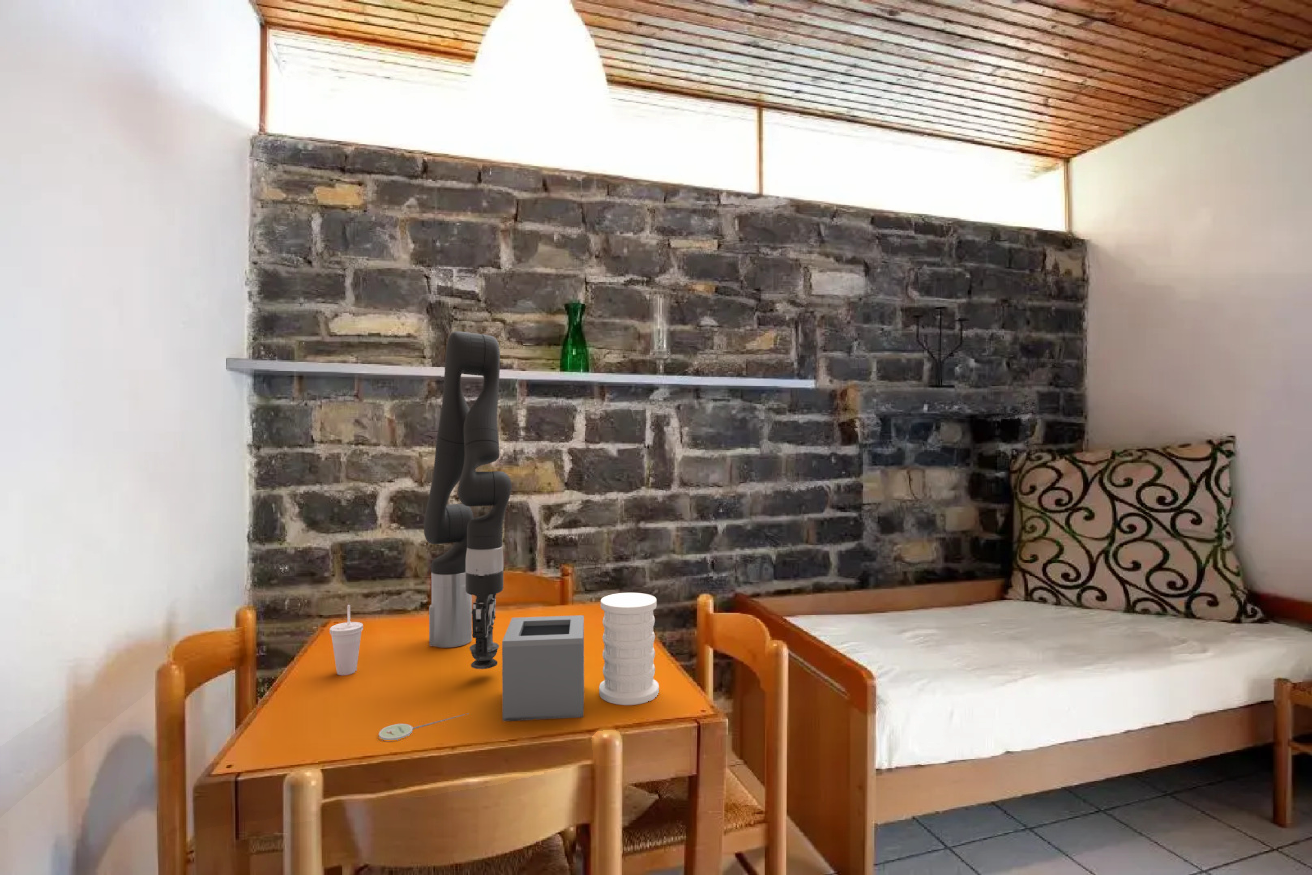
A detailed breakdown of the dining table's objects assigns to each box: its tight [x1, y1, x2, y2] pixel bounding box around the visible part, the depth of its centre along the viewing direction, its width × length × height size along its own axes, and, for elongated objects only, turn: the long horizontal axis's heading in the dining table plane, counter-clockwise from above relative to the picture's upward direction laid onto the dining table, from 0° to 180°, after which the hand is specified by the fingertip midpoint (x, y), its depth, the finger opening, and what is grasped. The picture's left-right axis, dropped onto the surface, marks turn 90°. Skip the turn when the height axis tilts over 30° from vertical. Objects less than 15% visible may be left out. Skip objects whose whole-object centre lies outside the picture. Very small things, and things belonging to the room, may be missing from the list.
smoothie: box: [329, 604, 364, 676], centre depth 131 cm, size 6×6×14 cm
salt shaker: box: [469, 618, 500, 670], centre depth 128 cm, size 6×6×12 cm
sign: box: [378, 713, 470, 741], centre depth 107 cm, size 5×1×15 cm
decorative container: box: [598, 592, 660, 706], centre depth 121 cm, size 12×12×18 cm
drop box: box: [501, 614, 585, 722], centre depth 116 cm, size 14×14×14 cm
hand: (484, 649), depth 128 cm, fingers closed on salt shaker, 6 cm apart
